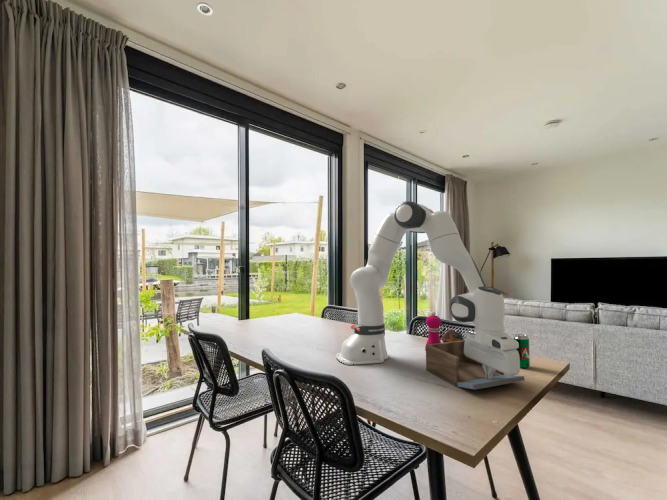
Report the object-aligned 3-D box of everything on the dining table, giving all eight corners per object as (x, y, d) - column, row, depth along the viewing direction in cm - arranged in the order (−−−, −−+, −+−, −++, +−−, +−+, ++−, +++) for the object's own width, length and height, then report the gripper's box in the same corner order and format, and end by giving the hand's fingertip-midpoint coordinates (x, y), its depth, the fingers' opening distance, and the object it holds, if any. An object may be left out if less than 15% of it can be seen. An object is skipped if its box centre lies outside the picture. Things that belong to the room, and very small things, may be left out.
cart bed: (456, 386, 107) (455, 357, 107) (426, 370, 123) (425, 344, 123) (504, 378, 113) (503, 351, 113) (469, 363, 129) (468, 339, 129)
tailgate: (457, 386, 106) (475, 389, 99) (457, 382, 107) (474, 385, 99) (505, 378, 113) (524, 380, 105) (504, 374, 113) (523, 376, 106)
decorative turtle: (460, 344, 157) (460, 327, 157) (467, 353, 142) (467, 335, 142) (439, 343, 159) (439, 327, 159) (444, 353, 144) (444, 334, 144)
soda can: (517, 363, 128) (516, 333, 128) (531, 366, 125) (530, 335, 125) (512, 366, 125) (511, 335, 125) (527, 370, 121) (526, 337, 121)
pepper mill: (434, 364, 129) (433, 313, 130) (421, 359, 136) (420, 311, 136) (447, 361, 133) (446, 312, 133) (434, 356, 139) (433, 309, 140)
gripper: (459, 330, 115) (459, 368, 115) (507, 346, 96) (507, 393, 96) (473, 328, 117) (473, 366, 118) (523, 344, 98) (523, 390, 98)
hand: (489, 378), depth 107 cm, fingers closed, pressing on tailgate
